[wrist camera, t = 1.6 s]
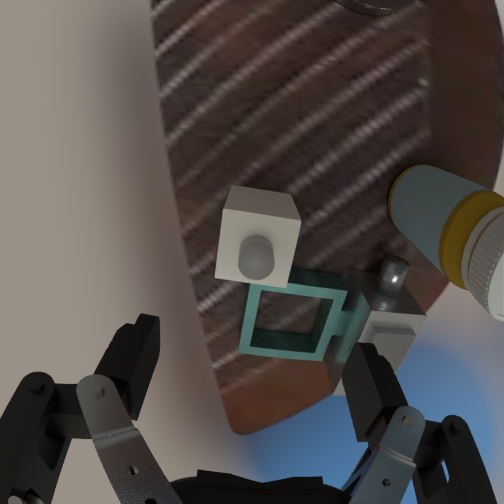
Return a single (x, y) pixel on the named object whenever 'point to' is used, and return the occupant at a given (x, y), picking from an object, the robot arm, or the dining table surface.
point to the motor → (341, 318)
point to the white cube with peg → (257, 237)
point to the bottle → (454, 229)
